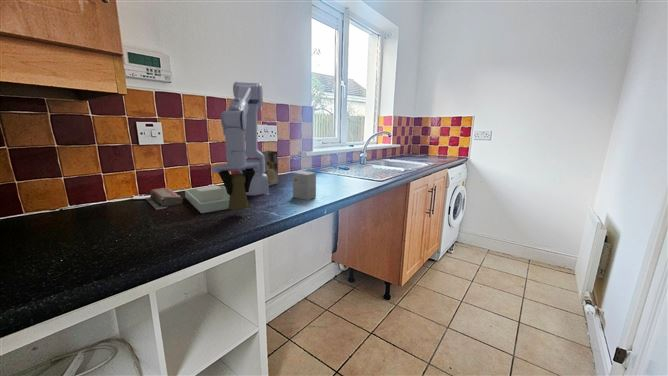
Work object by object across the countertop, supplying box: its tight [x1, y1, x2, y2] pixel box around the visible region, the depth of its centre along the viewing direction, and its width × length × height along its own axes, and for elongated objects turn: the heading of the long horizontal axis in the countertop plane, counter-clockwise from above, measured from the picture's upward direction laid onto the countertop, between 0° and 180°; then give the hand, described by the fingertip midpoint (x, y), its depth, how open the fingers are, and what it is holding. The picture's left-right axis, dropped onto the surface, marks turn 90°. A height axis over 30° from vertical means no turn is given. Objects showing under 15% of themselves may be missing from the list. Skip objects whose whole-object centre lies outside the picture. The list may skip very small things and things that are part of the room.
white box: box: [194, 185, 223, 202], centre depth 105 cm, size 8×6×4 cm
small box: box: [292, 170, 317, 201], centre depth 114 cm, size 8×6×10 cm
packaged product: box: [145, 187, 184, 210], centre depth 101 cm, size 18×5×10 cm
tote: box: [184, 185, 230, 214], centre depth 102 cm, size 14×22×4 cm, turn 39°
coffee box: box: [254, 150, 279, 187], centre depth 134 cm, size 9×6×16 cm
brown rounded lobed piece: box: [228, 173, 249, 211], centre depth 89 cm, size 6×6×11 cm
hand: (238, 192), depth 89 cm, fingers closed on brown rounded lobed piece, 5 cm apart
